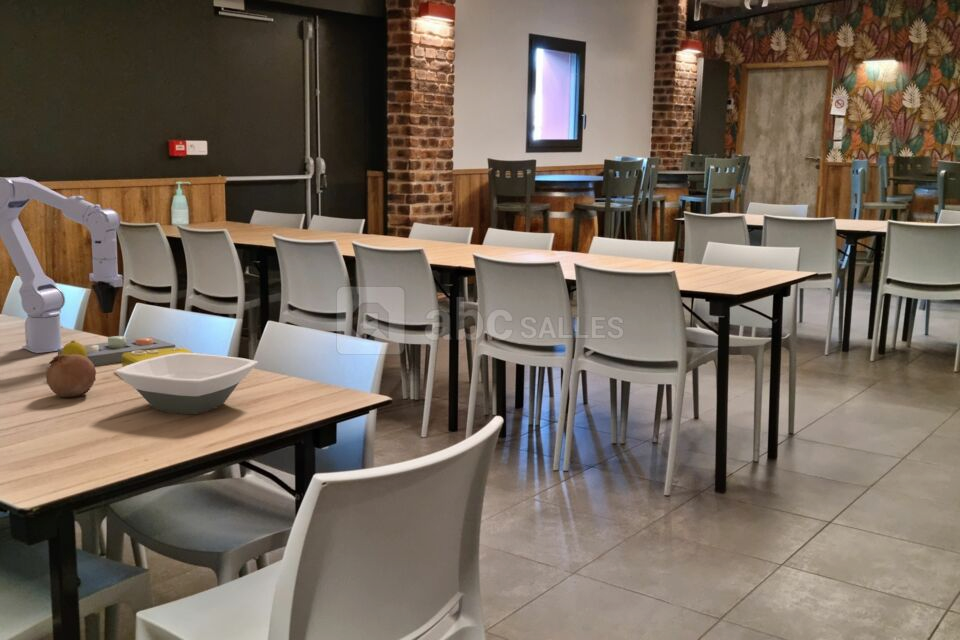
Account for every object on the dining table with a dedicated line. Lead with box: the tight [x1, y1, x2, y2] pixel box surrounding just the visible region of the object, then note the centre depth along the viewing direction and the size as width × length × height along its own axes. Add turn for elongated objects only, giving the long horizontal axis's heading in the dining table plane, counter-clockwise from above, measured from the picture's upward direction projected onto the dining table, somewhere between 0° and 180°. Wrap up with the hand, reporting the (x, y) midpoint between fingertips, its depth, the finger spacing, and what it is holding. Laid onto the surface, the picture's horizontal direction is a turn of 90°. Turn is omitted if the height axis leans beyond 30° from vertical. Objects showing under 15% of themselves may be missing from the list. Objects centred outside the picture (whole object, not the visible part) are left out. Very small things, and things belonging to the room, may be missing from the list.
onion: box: [45, 354, 97, 399], centre depth 197 cm, size 10×9×10 cm
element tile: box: [121, 346, 195, 368], centre depth 221 cm, size 15×15×5 cm
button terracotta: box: [134, 337, 153, 346], centre depth 241 cm, size 4×4×3 cm
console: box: [57, 336, 176, 367], centre depth 236 cm, size 13×24×2 cm, turn 135°
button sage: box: [107, 335, 127, 350], centre depth 236 cm, size 4×4×3 cm
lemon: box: [61, 340, 87, 357], centre depth 215 cm, size 6×6×8 cm
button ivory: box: [82, 343, 99, 353], centre depth 231 cm, size 4×4×3 cm
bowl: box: [114, 352, 259, 415], centre depth 191 cm, size 22×23×8 cm
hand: (107, 312), depth 238 cm, fingers closed
